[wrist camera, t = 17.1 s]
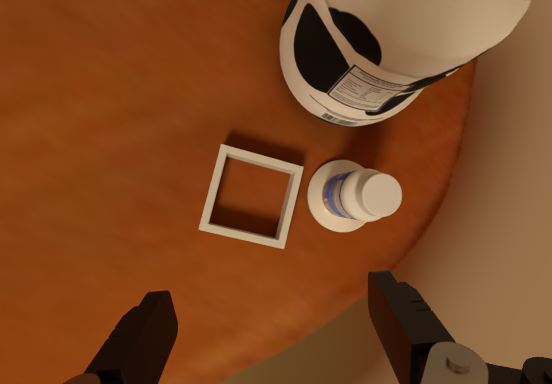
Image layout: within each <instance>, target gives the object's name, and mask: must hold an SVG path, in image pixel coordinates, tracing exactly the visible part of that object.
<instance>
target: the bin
mask: <svg viewBox="0 0 552 384" xmlns="http://www.w3.org/2000/svg"><path fill="white" fill-rule="evenodd" d="M226 157H231V158H234V159H238V160H242V161H245V162H249V163H252V164H256V165H260V166H263V167H267V168H271V169H274V170H278V171H282V172H285V173H289V174H290V179H289V183H288V187H287V191H286V195H285V199H284V203H283V207H282V211H281V215H280V219H279V223H278V227H277V232H276V236H275V238H274V237H270V236H265V235H261V234H257V233H252V232H248V231H244V230H240V229H235V228H231V227H227V226H223V225H218V224H214V223H210V222H209V221H210V218H211V214H212V210H213V206H214V202H215V199H216V195H217V191H218V187H219V183H220V180H221V176H222V172H223V168H224V164H225V161H226ZM303 168H304V167H302V166H298V165H295V164H291V163H288V162H284V161H280V160H277V159H273V158H270V157H266V156H263V155H259V154H255V153H252V152H248V151H245V150H241V149H237V148H234V147H230V146H227V145H223V144H221V147H220V151H219V155H218V159H217V162H216V166H215V170H214V174H213V177H212V181H211V185H210V189H209V192H208V196H207V200H206V204H205V208H204V211H203V215H202V219H201V223H200V226H199V230H202V231H207V232H211V233H216V234H220V235H224V236H229V237H233V238H237V239H242V240H246V241H251V242H255V243H259V244H264V245H268V246H272V247H277V248H281V249H284V246H285V242H286V238H287V234H288V230H289V226H290V222H291V217H292V213H293V209H294V205H295V201H296V197H297V193H298V189H299V184H300V180H301V176H302V172H303Z"/></svg>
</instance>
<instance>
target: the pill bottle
mask: <svg viewBox="0 0 552 384" xmlns="http://www.w3.org/2000/svg"><path fill="white" fill-rule="evenodd" d="M401 200H402V191H401V187H400V185H399V183H398V182H397V181H396V179H395V178H393V177H392V176H390V175H388V174H383V173H381V172H379V171H377V170H374V169H360V170H356V171H351V172H346V173H342V174H337V175H335V176H333V177H331V178H330V179H329V180H328V181H327V182H326V183H325V185H324V187H323V190H322V202H323V204H324V206H325V208H326V209H327V211H329V212H330V213H331V214H333V215H335V216H337V217H342V218H349V219H354V220H359V221H366V222H370V221H375V220H378V219H380V218H381V217H384V216H388V215H391V214H392V213H394V212H395V211H396V210H397V209H398V207H399V205H400V203H401Z"/></svg>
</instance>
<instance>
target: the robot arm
mask: <svg viewBox="0 0 552 384" xmlns="http://www.w3.org/2000/svg"><path fill="white" fill-rule="evenodd" d="M368 308H369V313H370V317H371V320H372V323H373V325H374V327H375V329H376V332H377V334H378V336H379V339H380V341H381V343H382V345H383V348H384V350H385V352H386V354H387V357H388V359H389V361H390V364H391V366H392V368H393V370H394V373H395V375H396V377H397V379H398V382H399V384H552V359H549V358H544V357H532V358H529V359H527V360H526V361H525V362H524V364H523V368H522V370H519V369H514V368H508V367H503V366H497V365H493V364H489V363H486V362H484V360H483V359H482V358H481V357H480V356H479V355H478V354H477V353H475V352H474V351H473V350H471V349H470V348H468V347H466V346H463V345H461V344H458V343H456V342H455V340H454V339H453V338H452V336H451V335H450V334H449V333H448V331H447V330H446V329H445V327H444V326H443V324H442V323H441V322H440V320H439V319H438V318H437V316H436V315H435V314H434V313H433V311H431V309H430V307H429V306H428V305H427V303H426V302H424V299H423V298H422V297H421V295H420V294H419V292H418V291H417V290H416V289H415V288H413V287H412V286H410V285H409V284H407V283H406V282H400V283H397V281H396V280H395V278H394V277H393V275H392V274H391V272H390V271H389V270H384V271H374V272H369V273H368ZM177 333H178V322H177V317H176V313H175V310H174V306H173V302H172V298H171V294H170V292H169V291H167V290H166V291H156V292H148V293H147V294H146V295H145V297H144V299H143V300H142V302H141V303H140V305H139V306H136V307H133V308H132V309H131V310H130V311H129V312H127V313H126V314H125V315H124V316H123V317H122V318H121V320H120V321H119V323H118V324H117V326H116V327H115V330H113V331H112V333H111V334H110V336H109V339H107V340H106V341H105V343H104V344H103V346H102V347H101V349H100V350H99V352H98V353H97V355H96V356H95V357H94V359H93V360H92V362H91V363H90V365H89V366H88V368H87V369H86V371H85V372H84V373H83V374H81V375H78V376H75V377H73V378H71V379H69V380H68V381H66V382H65V383H63V384H158V382H159V380H160V377H161V375H162V372H163V370H164V367H165V365H166V362H167V360H168V357H169V355H170V352H171V350H172V347H173V345H174V342H175V340H176V337H177Z"/></svg>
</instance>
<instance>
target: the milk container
mask: <svg viewBox="0 0 552 384" xmlns="http://www.w3.org/2000/svg"><path fill="white" fill-rule="evenodd" d="M530 1H531V0H291V2H290V4H289V6H288V8H287V11H286V14H285V17H284V20H283V24H282V29H281V35H280V62H281V67H282V72H283V75H284V78H285V80H286V83H287V85H288V87H289V89H290V90H291V92H292V94H293V95H294V96H295V98H296V99H297V100H298V101H299V103H300V104H301V105H302V106H303V107H304V108H305V109H307V110H308V111H309V112H310V113H312V114H313V115H315V116H316V117H318V118H320V119H322V120H324V121H326V122H329V123H332V124H335V125H340V126H362V125H368V124H373V123H376V122H379V121H382V120H384V119H387V118H389V117H391V116H393V115H395V114H396V113H398V112H399V111H401V110H402V109H404V108H405V107H406V106H407V105H409V104H410V103H411V102H412V101H413V100H414V99H415V98H416V97H417V96H418V95H419V93H420V92H421V91H422V90H423V89H424V88H425V87H427V86H429V85H431V84H433V83H435V82H437V81H439V80H440V79H442V78H444V77H446V76H448V75H450V74H452V73H453V72H455V71H456V70H457V69H459V68H460V67H461V66H463V65H465V64H466V63H468V62H470V61H471V60H473V59H475V58H476V57H478V56H480V55H481V54H483V53H484V52H486V51H487V50H489V49H490V48H492V47H493V46H495V45H496V44H497V43H499V42H500V41H502V40H503V39H504V38H505V37H506V36H507V35H509V34H510V33H511V31H512V30H513V28H514V27H515V26H516V24H517V23H518V22H519V20H520V19H521V17H522V16H523V15H524V13H525V12H526V10H527V9H528V8H529V5H530Z"/></svg>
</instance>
